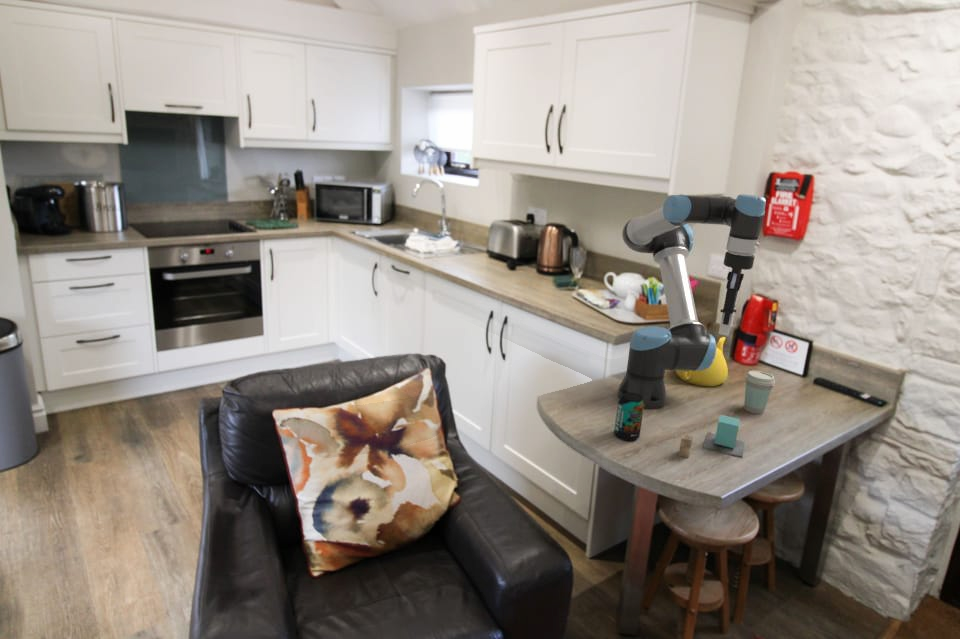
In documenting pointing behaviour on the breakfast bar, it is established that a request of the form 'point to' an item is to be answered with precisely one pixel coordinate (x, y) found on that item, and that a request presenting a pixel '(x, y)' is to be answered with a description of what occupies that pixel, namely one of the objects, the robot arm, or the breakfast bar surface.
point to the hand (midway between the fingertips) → (723, 334)
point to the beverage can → (629, 416)
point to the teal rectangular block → (727, 431)
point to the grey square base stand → (724, 449)
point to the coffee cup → (757, 391)
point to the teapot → (708, 370)
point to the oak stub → (685, 446)
